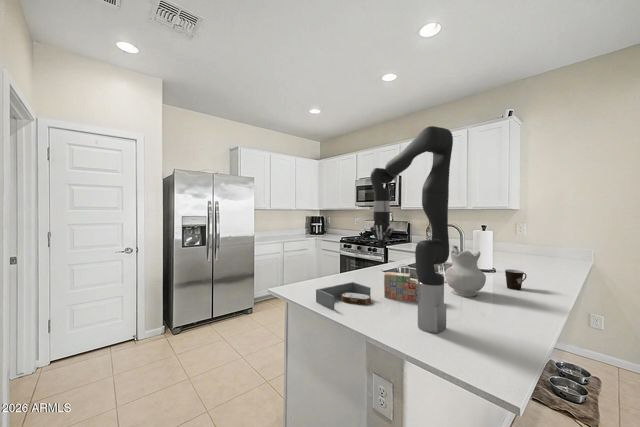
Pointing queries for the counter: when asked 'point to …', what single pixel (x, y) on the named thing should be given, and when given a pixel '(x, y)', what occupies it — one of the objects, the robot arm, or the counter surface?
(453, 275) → the ceramic pitcher
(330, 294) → the box
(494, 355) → the counter surface
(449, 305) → the counter surface
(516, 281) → the coffee mug
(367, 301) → the digital alarm clock
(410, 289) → the stack of blocks
